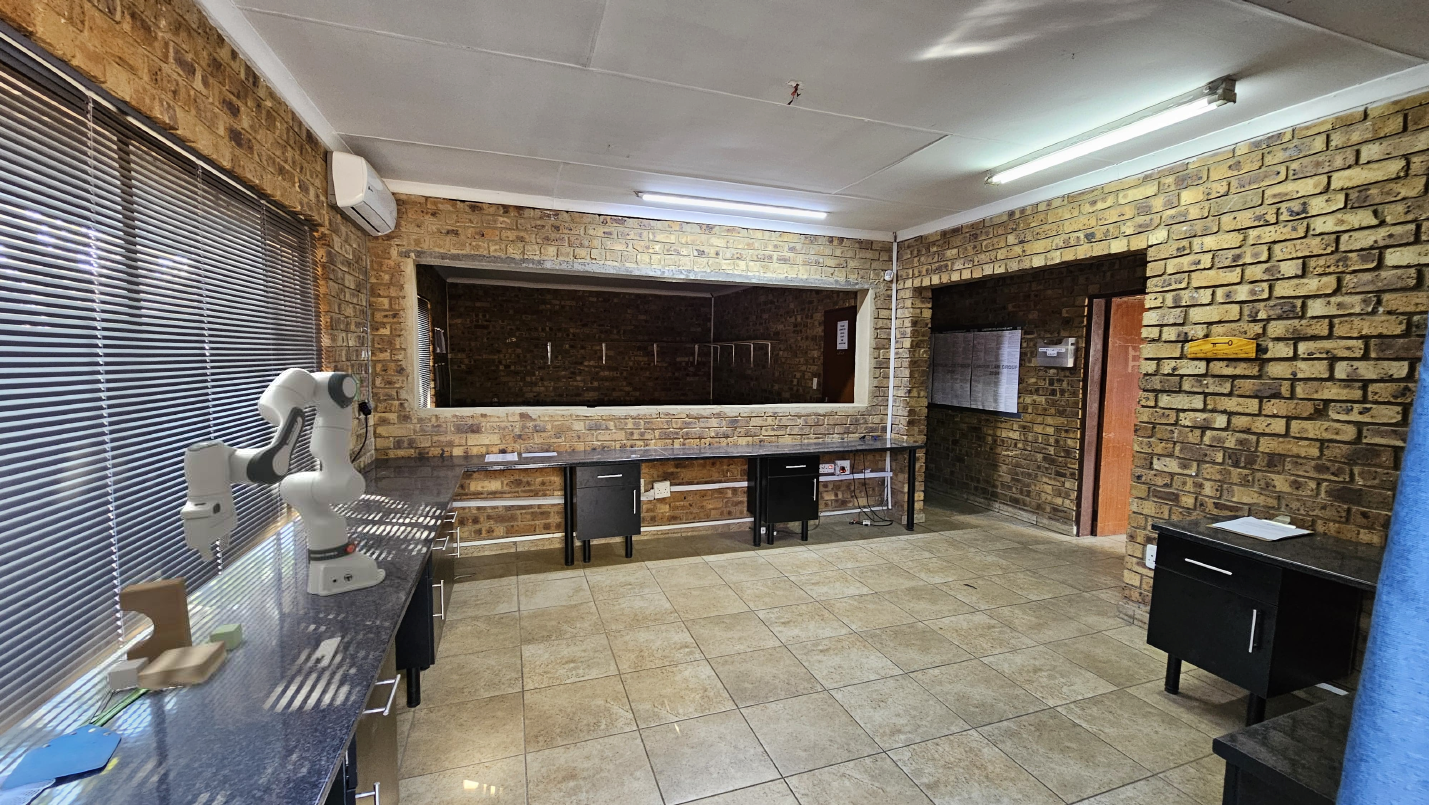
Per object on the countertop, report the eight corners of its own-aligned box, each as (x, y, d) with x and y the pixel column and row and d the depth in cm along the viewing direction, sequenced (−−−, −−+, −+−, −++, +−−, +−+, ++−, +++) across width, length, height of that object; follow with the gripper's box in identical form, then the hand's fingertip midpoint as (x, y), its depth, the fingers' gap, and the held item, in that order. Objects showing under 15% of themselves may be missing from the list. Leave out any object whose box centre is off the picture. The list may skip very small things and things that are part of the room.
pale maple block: (227, 659, 147) (224, 640, 146) (204, 684, 135) (202, 664, 135) (167, 669, 143) (165, 650, 142) (139, 696, 131) (136, 675, 131)
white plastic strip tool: (303, 672, 139) (302, 668, 139) (319, 644, 153) (319, 640, 153) (327, 667, 141) (327, 663, 141) (341, 640, 155) (341, 636, 155)
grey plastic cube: (150, 677, 139) (148, 657, 138) (138, 688, 134) (136, 667, 134) (123, 681, 137) (121, 662, 137) (110, 693, 132) (108, 672, 132)
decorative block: (127, 670, 142) (117, 593, 140) (138, 660, 147) (128, 584, 145) (185, 659, 147) (176, 583, 145) (193, 649, 152) (185, 576, 150)
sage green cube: (242, 640, 156) (240, 622, 156) (235, 648, 151) (233, 630, 151) (220, 644, 154) (218, 626, 154) (211, 653, 150) (209, 634, 149)
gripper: (214, 496, 158) (219, 545, 159) (175, 514, 139) (182, 569, 140) (242, 493, 160) (247, 541, 161) (208, 511, 141) (214, 565, 142)
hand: (216, 555), depth 150 cm, fingers open, 8 cm apart
